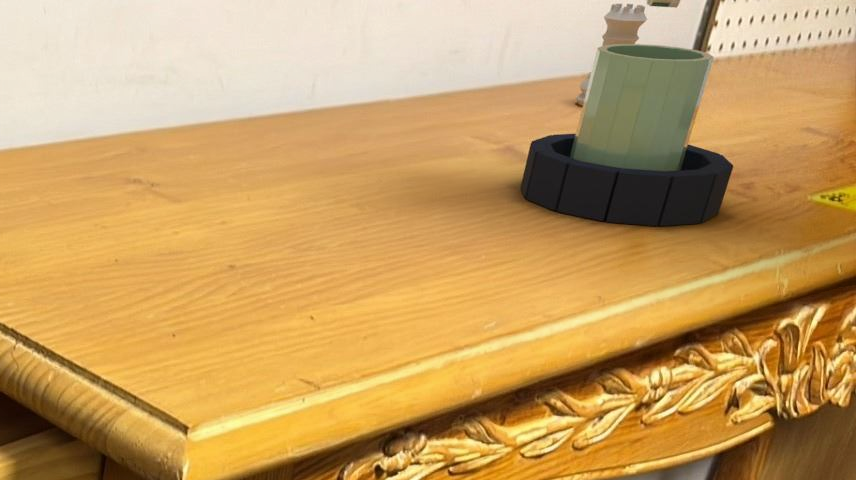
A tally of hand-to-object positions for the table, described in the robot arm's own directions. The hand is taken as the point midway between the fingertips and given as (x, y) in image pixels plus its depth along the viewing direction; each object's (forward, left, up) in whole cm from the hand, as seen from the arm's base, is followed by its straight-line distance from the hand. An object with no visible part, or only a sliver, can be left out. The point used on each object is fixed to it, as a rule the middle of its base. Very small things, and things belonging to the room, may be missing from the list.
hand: (575, 2), depth 73 cm
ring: (-5, 0, -12) cm, 13 cm away
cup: (-5, 0, -12) cm, 13 cm away
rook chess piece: (-9, -33, -12) cm, 36 cm away
